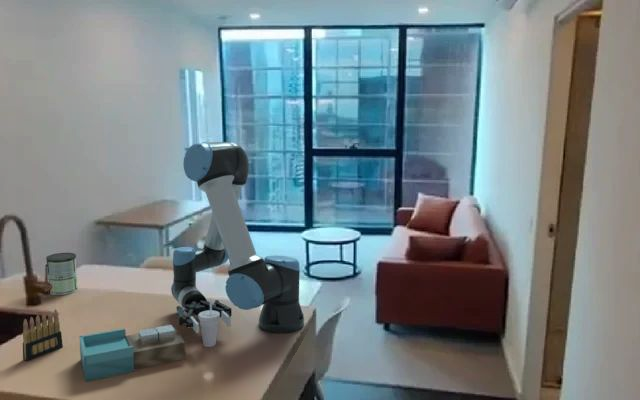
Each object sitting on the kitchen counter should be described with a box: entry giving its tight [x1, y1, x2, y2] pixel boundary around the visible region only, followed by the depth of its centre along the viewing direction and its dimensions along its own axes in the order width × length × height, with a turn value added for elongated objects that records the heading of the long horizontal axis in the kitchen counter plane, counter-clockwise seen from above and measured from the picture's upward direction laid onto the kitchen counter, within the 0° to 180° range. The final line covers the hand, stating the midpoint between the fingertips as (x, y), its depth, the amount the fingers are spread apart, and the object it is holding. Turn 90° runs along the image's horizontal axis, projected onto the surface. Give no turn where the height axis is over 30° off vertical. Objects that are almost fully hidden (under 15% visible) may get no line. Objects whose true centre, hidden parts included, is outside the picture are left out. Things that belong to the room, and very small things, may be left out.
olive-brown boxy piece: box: [126, 326, 186, 371], centre depth 145 cm, size 14×12×5 cm
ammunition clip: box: [22, 308, 64, 362], centre depth 144 cm, size 11×2×12 cm, turn 149°
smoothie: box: [197, 299, 221, 348], centre depth 152 cm, size 6×6×14 cm
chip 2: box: [155, 324, 176, 341], centre depth 146 cm, size 4×4×2 cm
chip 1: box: [138, 327, 158, 345], centre depth 143 cm, size 4×4×2 cm
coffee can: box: [45, 252, 79, 296], centre depth 196 cm, size 10×10×14 cm
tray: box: [78, 328, 135, 383], centre depth 138 cm, size 12×14×7 cm
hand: (213, 325), depth 148 cm, fingers open, 9 cm apart
